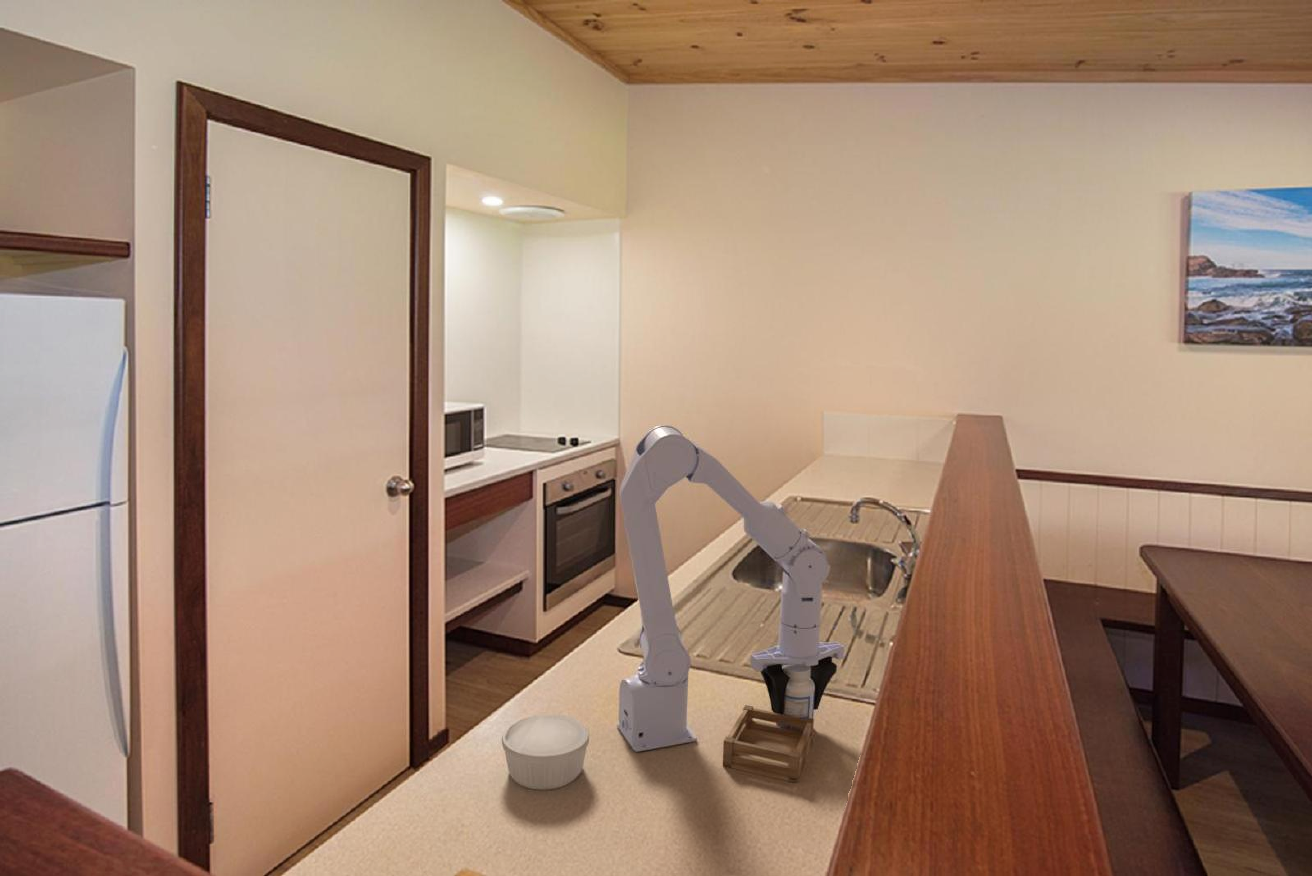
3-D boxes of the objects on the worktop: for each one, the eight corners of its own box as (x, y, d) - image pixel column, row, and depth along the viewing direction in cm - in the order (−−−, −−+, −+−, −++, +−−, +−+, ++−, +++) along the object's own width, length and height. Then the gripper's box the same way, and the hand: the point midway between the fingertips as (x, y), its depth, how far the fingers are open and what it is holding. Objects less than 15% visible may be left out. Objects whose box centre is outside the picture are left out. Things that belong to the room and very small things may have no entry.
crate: (796, 783, 105) (798, 757, 104) (722, 765, 108) (723, 740, 108) (812, 742, 115) (813, 718, 114) (744, 728, 119) (745, 704, 118)
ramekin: (493, 758, 109) (493, 721, 108) (572, 742, 113) (573, 707, 113) (514, 804, 99) (514, 764, 98) (600, 785, 103) (601, 746, 103)
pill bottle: (787, 715, 123) (790, 654, 121) (819, 727, 119) (823, 665, 118) (768, 729, 118) (771, 666, 117) (800, 742, 115) (804, 677, 114)
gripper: (769, 637, 110) (764, 730, 112) (858, 625, 115) (852, 714, 117) (745, 619, 116) (740, 707, 119) (830, 608, 122) (825, 693, 124)
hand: (794, 709), depth 118 cm, fingers closed on pill bottle, 5 cm apart
